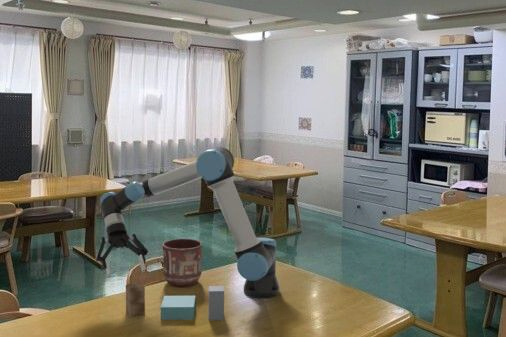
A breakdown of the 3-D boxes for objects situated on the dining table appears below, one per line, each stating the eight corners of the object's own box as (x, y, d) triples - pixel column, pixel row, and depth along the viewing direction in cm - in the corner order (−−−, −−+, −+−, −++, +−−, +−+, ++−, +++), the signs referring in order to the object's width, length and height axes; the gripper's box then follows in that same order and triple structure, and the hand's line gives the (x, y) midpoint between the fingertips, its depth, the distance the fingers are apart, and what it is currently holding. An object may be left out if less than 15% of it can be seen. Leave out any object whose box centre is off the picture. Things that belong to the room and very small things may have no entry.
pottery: (153, 284, 233) (153, 244, 231) (180, 274, 247) (181, 236, 245) (183, 293, 223) (183, 251, 221) (210, 282, 237) (210, 242, 235)
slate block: (223, 314, 201) (223, 285, 199) (223, 320, 195) (224, 290, 194) (208, 314, 200) (208, 286, 199) (208, 320, 195) (209, 291, 193)
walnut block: (140, 310, 203) (139, 282, 202) (144, 315, 198) (144, 286, 197) (126, 313, 200) (125, 284, 199) (130, 318, 196) (130, 289, 194)
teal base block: (195, 307, 207) (195, 295, 207) (193, 320, 195) (193, 307, 195) (164, 308, 207) (164, 295, 206) (160, 320, 195) (160, 307, 194)
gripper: (143, 229, 225) (155, 273, 214) (82, 235, 213) (92, 282, 202) (147, 219, 220) (160, 263, 209) (85, 224, 208) (95, 272, 197)
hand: (126, 273), depth 205 cm, fingers open, 13 cm apart
